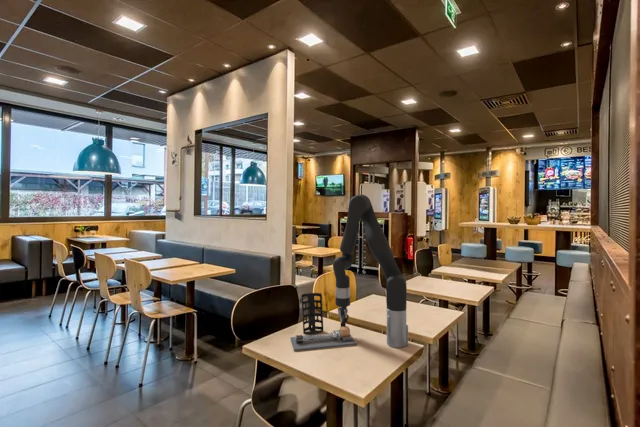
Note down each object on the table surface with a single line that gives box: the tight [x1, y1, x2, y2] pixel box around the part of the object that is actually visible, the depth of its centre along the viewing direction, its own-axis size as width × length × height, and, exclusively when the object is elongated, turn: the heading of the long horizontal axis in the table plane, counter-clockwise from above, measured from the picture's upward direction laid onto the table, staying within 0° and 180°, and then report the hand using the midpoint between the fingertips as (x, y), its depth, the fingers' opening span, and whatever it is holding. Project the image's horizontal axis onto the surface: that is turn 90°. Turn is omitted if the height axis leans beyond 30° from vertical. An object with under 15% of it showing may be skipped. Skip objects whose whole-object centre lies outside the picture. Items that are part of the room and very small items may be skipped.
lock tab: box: [339, 325, 351, 336], centre depth 169 cm, size 4×4×3 cm
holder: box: [301, 292, 324, 335], centre depth 179 cm, size 11×8×20 cm
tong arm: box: [294, 333, 333, 340], centre depth 165 cm, size 19×3×1 cm, turn 102°
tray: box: [290, 336, 358, 352], centre depth 166 cm, size 30×14×1 cm, turn 102°
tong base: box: [296, 329, 354, 344], centre depth 167 cm, size 27×11×3 cm, turn 102°
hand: (343, 329), depth 173 cm, fingers closed
